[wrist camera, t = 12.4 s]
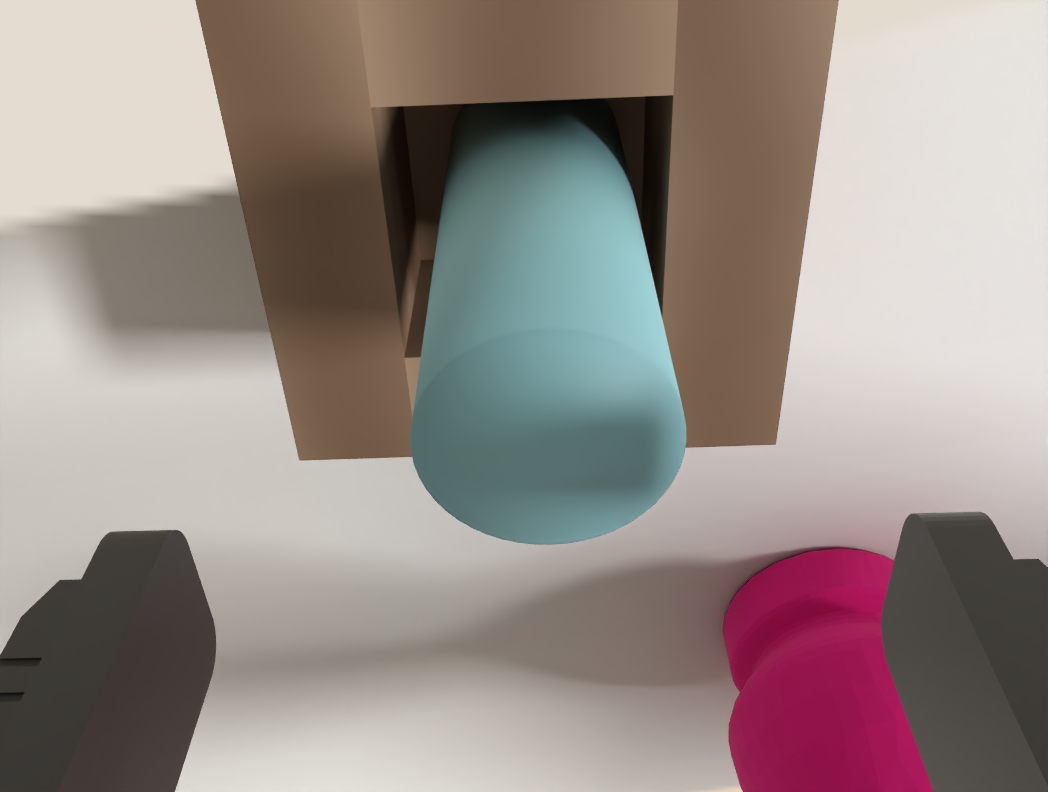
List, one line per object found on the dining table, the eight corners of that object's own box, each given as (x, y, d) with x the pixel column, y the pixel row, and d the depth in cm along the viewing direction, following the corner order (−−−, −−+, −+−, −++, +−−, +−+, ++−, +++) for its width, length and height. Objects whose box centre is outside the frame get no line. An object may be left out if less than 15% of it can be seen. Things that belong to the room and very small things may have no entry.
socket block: (778, -130, 19) (849, -78, 15) (733, 318, 25) (775, 444, 21) (255, -107, 19) (184, -48, 15) (335, 332, 25) (299, 460, 21)
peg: (621, 61, 20) (695, 322, 12) (618, 223, 22) (679, 539, 14) (443, 69, 20) (394, 333, 12) (457, 230, 22) (424, 549, 14)
